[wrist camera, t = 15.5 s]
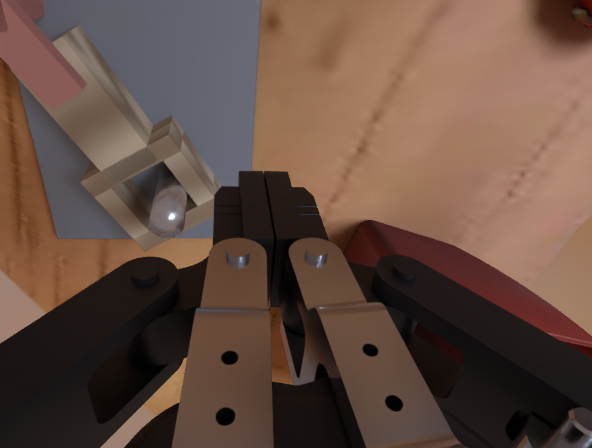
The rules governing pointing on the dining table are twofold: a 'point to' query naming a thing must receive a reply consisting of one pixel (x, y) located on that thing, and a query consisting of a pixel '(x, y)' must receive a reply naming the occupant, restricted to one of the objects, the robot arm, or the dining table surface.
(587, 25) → the dragon fruit
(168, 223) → the pin
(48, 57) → the bracket
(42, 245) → the dining table surface
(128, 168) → the link
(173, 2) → the base board
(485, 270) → the plant pot
